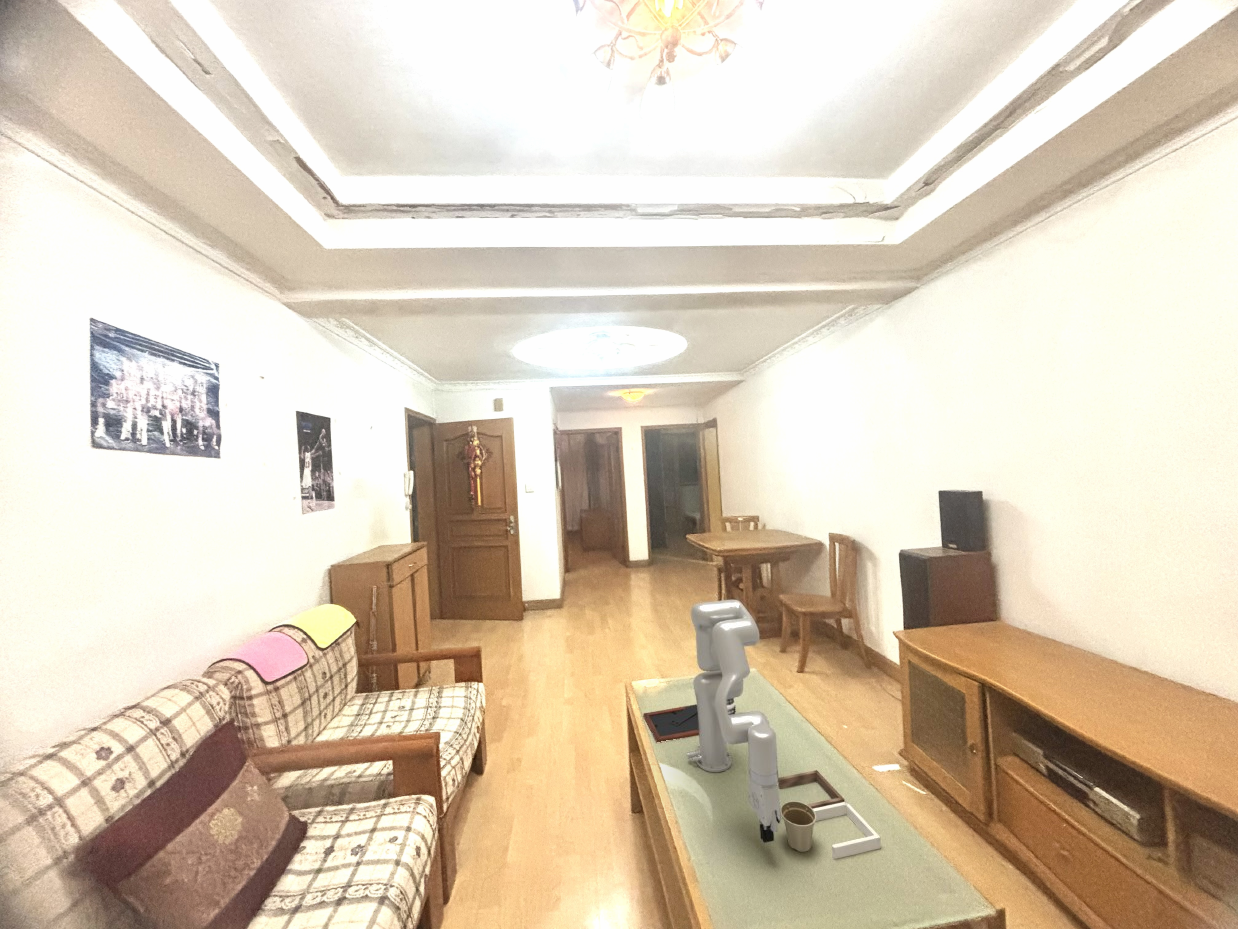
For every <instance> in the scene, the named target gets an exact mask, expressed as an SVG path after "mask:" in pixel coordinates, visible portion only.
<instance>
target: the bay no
mask: <svg viewBox="0 0 1238 929" xmlns="http://www.w3.org/2000/svg"><path fill="white" fill-rule="evenodd" d="M811 783H812V784H813V783H817V784H818V785H819V786H820V787H821V788H822V790H824V791H825V793H826V794H827V795H828V796H829V797H830V798H831V799H827V800H826V799H825V800H823V801H818V802H812V803H808V804H807V803H806V804H807V805H809V806H810V807H811V808H812V809H814V808H819V807H824V806H828V805H833V804H837V803H842V802H846V801H845V798H844V797H843V796H842V795H841V794H840V793H839V792H838V790H837V789H836V788H834V786H833V785H832V784H831V783H829V781H828V780H827V779H826V778H825V777H824V776H823V775H822V774H821V773H820V772H819V770H817V769H816V770H811V771H806V772H800V773H796V774H791V775H786V776H780V777H778V784H777V786H778V789H779V790H782V789H786V788H792V787H796V786H801V785H802V786H803V785H806V784H811Z"/></svg>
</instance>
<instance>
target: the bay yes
mask: <svg viewBox="0 0 1238 929" xmlns="http://www.w3.org/2000/svg"><path fill="white" fill-rule="evenodd" d="M813 810H814V812H815V813H816V821H815V822H817V821H818V822H819V821H824V820H827V819H832V818H837V817H841V816H845V815H846V816H847V817H848V818H849V819H850V820H851V821H852V822H853V823H854V824H855V825H856V827H857V828H858V829H859V830H860V832H862V834H864V836H865V837H862V838H857V839H852V840H848V841H844V842H839V843H834V844H832V845H831V854H832V858H833V859H834V860H837V859H840V858H845V857H850V856H853V855H857V854H862V853H866V852H870V851H874V850H879V849H881V848H882V846H881V844H882V842H881V836H880V835H879V834H878V833H877V832H876V831H875V830H874V829H873V828H872V827H871V826H870V825H869V824H868V823H867V821H866V820H865V819H864V818H863V817H862V816H861V815H860V814H859V813H858V812H857V811H856V810H855V809H854V807H853V806H852V805H851V804H850V803H849V802H848V801H845V802H842V803H837V804H833V805H828V806H824V807H819V808H814V809H813Z"/></svg>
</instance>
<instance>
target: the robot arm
mask: <svg viewBox="0 0 1238 929" xmlns="http://www.w3.org/2000/svg"><path fill="white" fill-rule="evenodd" d="M690 619H691V623H692V624H693V627H694V630H695V643H696V647H695V648H696V660H697V661H696V662H697V665H698V668H699V669H700V670H701V671H703V672H701V673H698V674H696V675H695V677H694V679H693V682H692V685H693V690H694V695H695V700H696V704H697V711H698V726H699V735H698V742H699V744H698V745H699V746H698V745H697V746H696V748H697V749H695V750H694V751H689V752H686V757H687V759H688V760H689V759H692V761H693V762H694V763H695V762H696V764H697V766H698V767H700V769H702V770H703V771H706V772H709V773H722V772H725V771H727V770H729V768H731V766H732V764H733V758H732V756H731V754H730V753H729V752H728V748H727V747H728V746H727V744H728V745H731V746H732V745H739V744H745V743H747V750H748V765H749V767H748V769H749V778H748V800H749V801H748V802H749V806H750V807H751V809H752V810H753V812H754V813H755V814H756V817H757V819H758V822H759V823H760V824H759V832H760V834H759V835H760V836H759V837H760V839H761V841H762V843H764V844H765V843H766V844H767V843H770V842H773V841H775V834H774V833H777V832H778V831H779V830H778V829H779V828H778V824H781V821H782V816H781V809H780V808H781V802H780V800H781V799H780V794H779V786H778V778H779V769H778V767H779V766H778V764H779V762H778V748H777V734H776V732H775V730H774V729H773V728H772V727H771V726H770V721H769V719H768V717H767V716H766V715H765V713H764V712H763V711H761V710H753V711H752V710H751V711H745V712H739V713H736V714H731V715H729V714H728V710H727V699H731V698H734V699H736V698H739V697H740V696H742V694H743V692H744V679H746V678H747V677H748V676H749V675H750V673H751V668H750V664H749V662H748V659H747V654H746V650H745V647H750V646H756V645H757V644H758V643H759V642H760V637H761V636H760V630H759V627H758V625H757V623H756V622H755V619H754V618H753V616H752V615H751V613H750V612H749V611H748V610H747V608H746V607H745V605H744V604H743V603H742V601H740V600H738V599H724V600H715V601H704V602H699V603H695V604H693V606H692V607H691V609H690Z"/></svg>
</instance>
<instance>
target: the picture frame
mask: <svg viewBox="0 0 1238 929" xmlns="http://www.w3.org/2000/svg"><path fill="white" fill-rule="evenodd" d="M642 715H643V718H644V720H645V722H646V724H647V726H648V728H649V731H650V732H651V734H652V733H653V734H652V737H653V739H654V741H655V742H656V743H657V742H660V743H662V742H661V741H666V740H671V741H674V740H673V739H676V740H680V738H682V739H687V738H691V737H696V736H698V737H699V726H698V711H697V703H696V704H691V705H684V706H680V707H672V708H668V709H663V710H662V709H661V710H655V711H649V712H645V713H643V714H642ZM666 742H667V741H666Z"/></svg>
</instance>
